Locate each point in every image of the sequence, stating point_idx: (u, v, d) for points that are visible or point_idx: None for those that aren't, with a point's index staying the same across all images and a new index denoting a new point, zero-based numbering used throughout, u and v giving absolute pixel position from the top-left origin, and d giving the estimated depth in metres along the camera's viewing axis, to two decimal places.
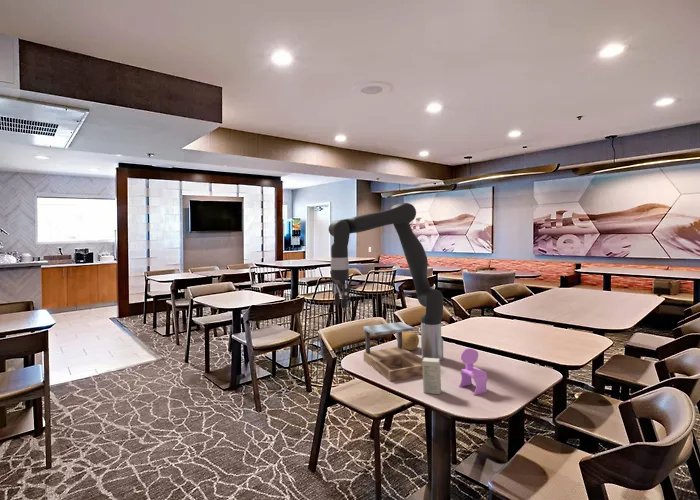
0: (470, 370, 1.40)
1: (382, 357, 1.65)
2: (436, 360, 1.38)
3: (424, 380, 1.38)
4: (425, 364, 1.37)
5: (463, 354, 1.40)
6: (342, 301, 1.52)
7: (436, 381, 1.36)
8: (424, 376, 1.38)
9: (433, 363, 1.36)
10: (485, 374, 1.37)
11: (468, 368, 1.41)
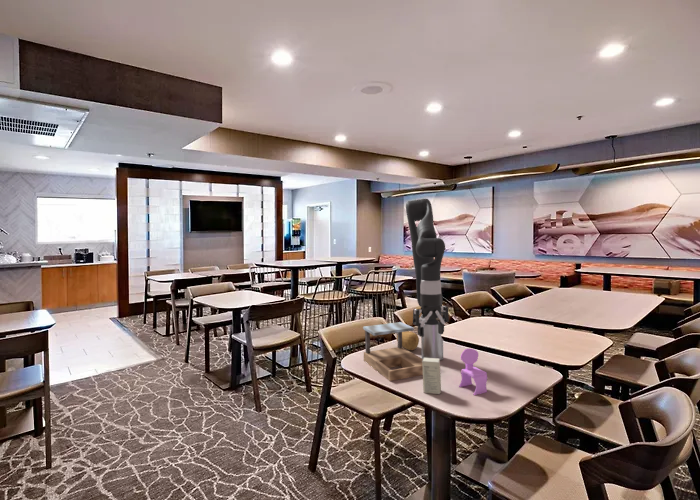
0: (470, 370, 1.40)
1: (382, 357, 1.65)
2: (436, 360, 1.38)
3: (424, 380, 1.38)
4: (425, 364, 1.37)
5: (463, 354, 1.40)
6: (442, 326, 1.39)
7: (436, 381, 1.36)
8: (424, 376, 1.38)
9: (433, 363, 1.36)
10: (485, 374, 1.37)
11: (468, 368, 1.41)
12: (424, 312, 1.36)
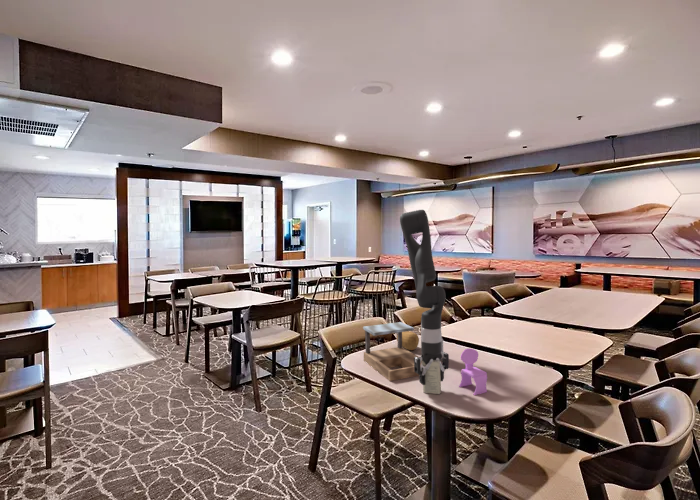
0: (470, 370, 1.40)
1: (382, 357, 1.65)
2: None
3: None
4: (425, 364, 1.37)
5: (463, 354, 1.40)
6: (442, 373, 1.40)
7: (436, 380, 1.36)
8: None
9: (433, 363, 1.36)
10: (485, 374, 1.37)
11: (468, 368, 1.41)
12: (425, 360, 1.36)
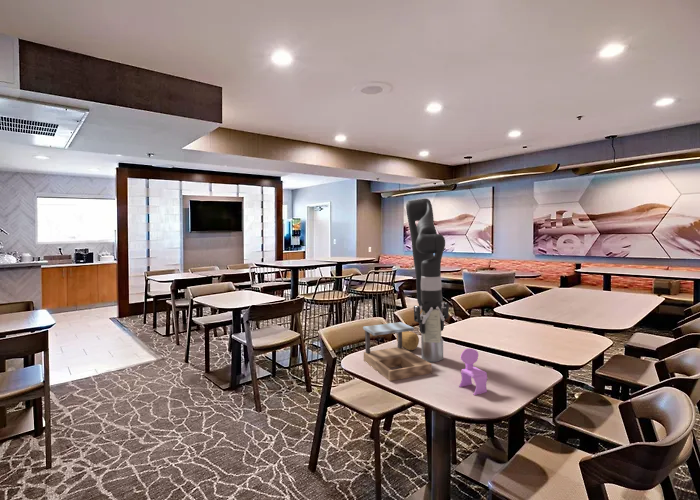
0: (470, 370, 1.40)
1: (382, 357, 1.65)
2: (436, 309, 1.37)
3: None
4: (425, 313, 1.36)
5: (463, 354, 1.40)
6: (442, 323, 1.39)
7: (436, 329, 1.35)
8: None
9: (433, 311, 1.35)
10: (485, 374, 1.37)
11: (468, 368, 1.41)
12: (425, 308, 1.35)
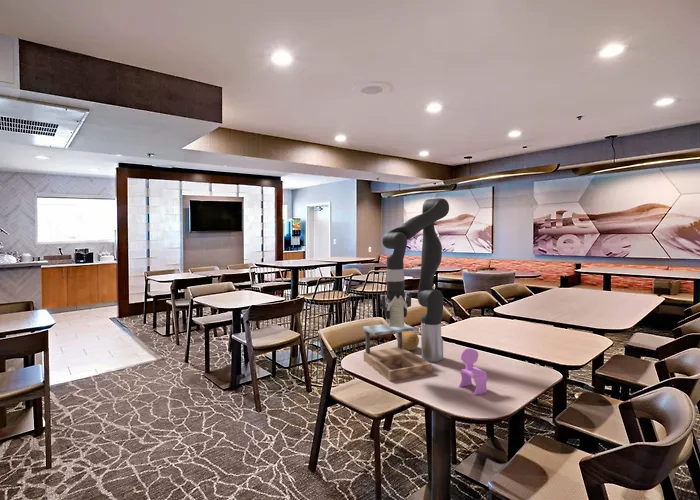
0: (470, 370, 1.40)
1: (382, 357, 1.65)
2: None
3: None
4: None
5: (463, 354, 1.40)
6: (405, 310, 1.58)
7: (399, 315, 1.55)
8: None
9: (396, 300, 1.55)
10: (485, 374, 1.37)
11: (468, 368, 1.41)
12: (389, 297, 1.55)
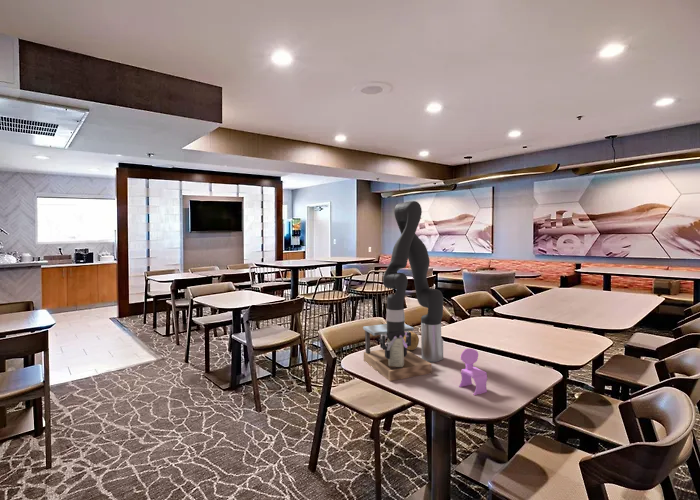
0: (470, 370, 1.40)
1: (382, 357, 1.65)
2: None
3: None
4: (390, 341, 1.57)
5: (463, 354, 1.40)
6: (405, 349, 1.59)
7: (399, 355, 1.56)
8: None
9: (396, 340, 1.56)
10: (485, 374, 1.37)
11: (468, 368, 1.41)
12: (389, 337, 1.56)
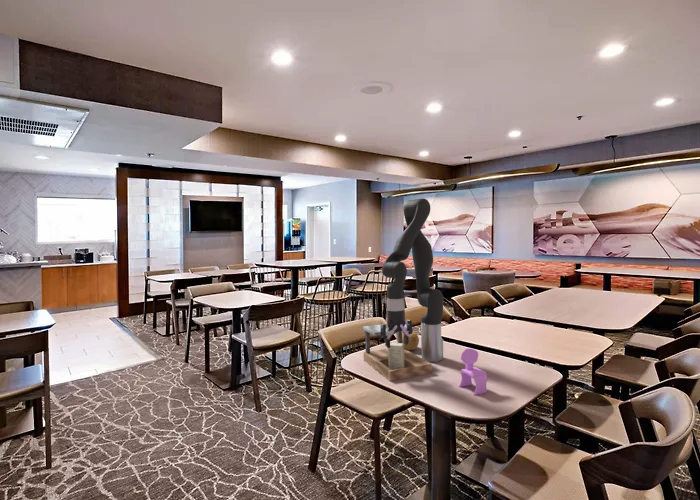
0: (470, 370, 1.40)
1: (382, 357, 1.65)
2: (400, 344, 1.57)
3: (389, 362, 1.57)
4: (390, 348, 1.57)
5: (463, 354, 1.40)
6: (407, 337, 1.59)
7: (399, 362, 1.56)
8: (389, 358, 1.57)
9: (397, 347, 1.56)
10: (485, 374, 1.37)
11: (468, 368, 1.41)
12: (390, 326, 1.55)
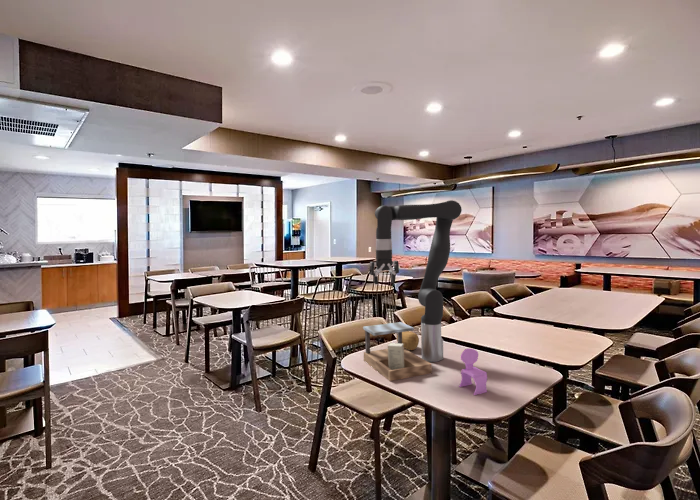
0: (470, 370, 1.40)
1: (382, 357, 1.65)
2: (400, 344, 1.57)
3: (389, 362, 1.57)
4: (390, 348, 1.57)
5: (463, 354, 1.40)
6: (394, 276, 1.73)
7: (399, 363, 1.56)
8: (389, 359, 1.57)
9: (397, 347, 1.56)
10: (485, 374, 1.37)
11: (468, 368, 1.41)
12: (378, 264, 1.70)
